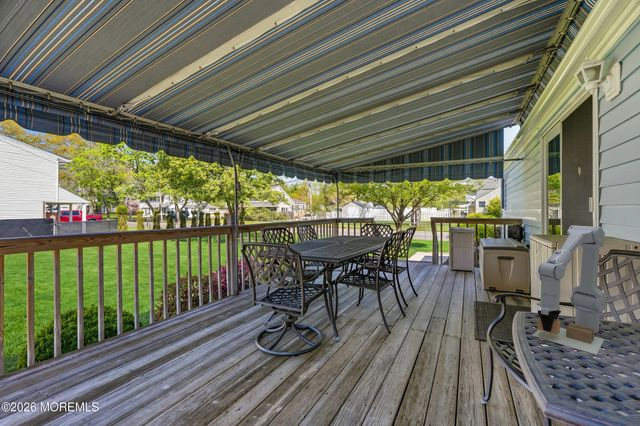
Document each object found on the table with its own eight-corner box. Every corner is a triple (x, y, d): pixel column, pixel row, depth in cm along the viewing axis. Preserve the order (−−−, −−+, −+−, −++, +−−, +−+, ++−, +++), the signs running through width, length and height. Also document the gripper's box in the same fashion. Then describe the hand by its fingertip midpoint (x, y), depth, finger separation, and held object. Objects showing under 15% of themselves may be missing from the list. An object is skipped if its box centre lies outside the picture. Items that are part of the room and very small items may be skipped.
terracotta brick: (540, 326, 114) (541, 315, 114) (559, 332, 109) (560, 320, 109) (537, 329, 111) (537, 318, 111) (557, 335, 107) (557, 323, 107)
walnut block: (569, 332, 114) (570, 322, 114) (593, 339, 109) (594, 328, 109) (565, 337, 110) (566, 326, 110) (590, 344, 104) (591, 333, 104)
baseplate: (545, 325, 123) (545, 323, 123) (604, 341, 109) (604, 339, 109) (531, 337, 110) (531, 335, 110) (596, 356, 96) (596, 354, 96)
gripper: (542, 288, 118) (541, 321, 118) (532, 294, 109) (530, 330, 109) (564, 293, 112) (563, 327, 113) (555, 299, 103) (554, 336, 103)
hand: (548, 329), depth 110 cm, fingers closed on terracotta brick, 4 cm apart
